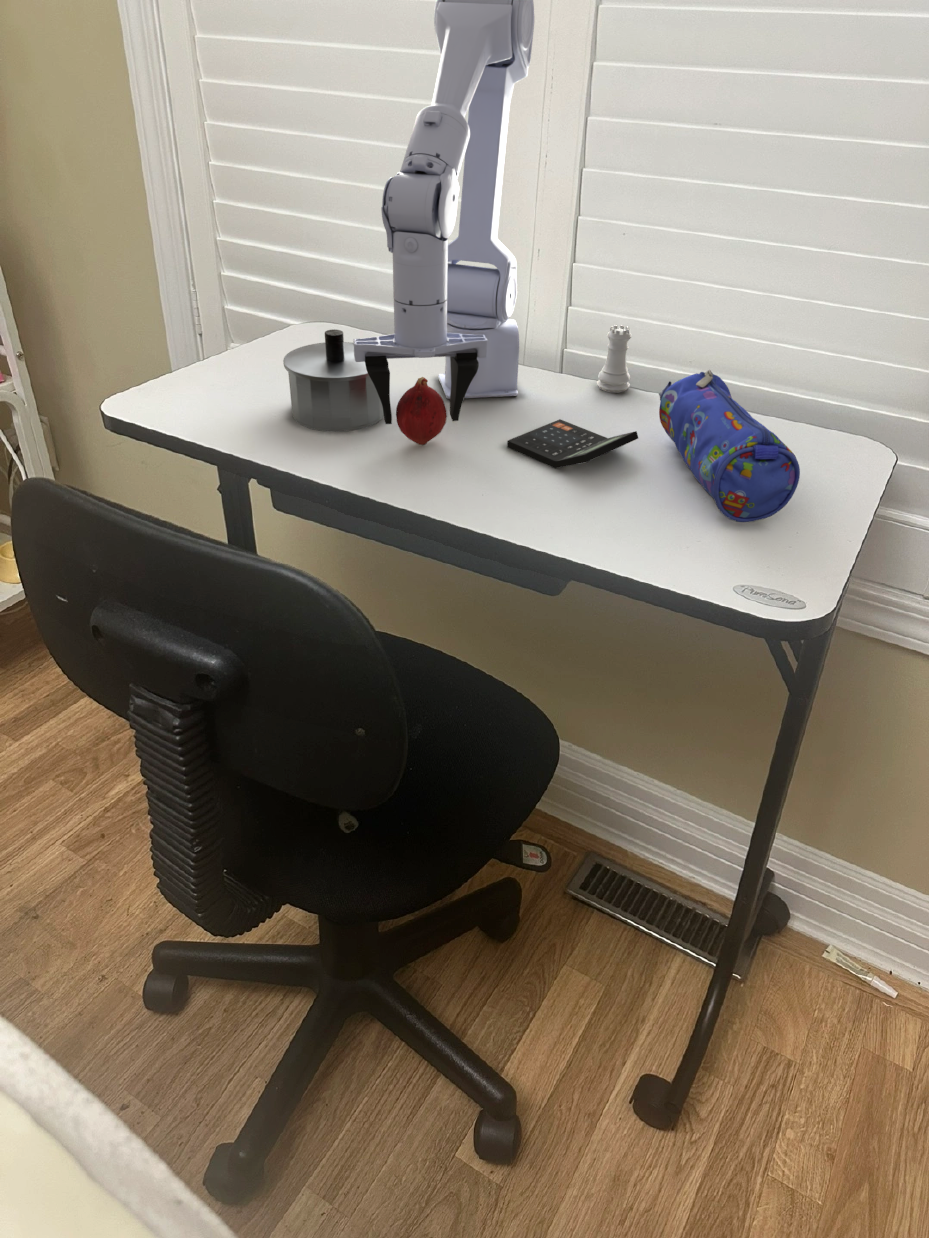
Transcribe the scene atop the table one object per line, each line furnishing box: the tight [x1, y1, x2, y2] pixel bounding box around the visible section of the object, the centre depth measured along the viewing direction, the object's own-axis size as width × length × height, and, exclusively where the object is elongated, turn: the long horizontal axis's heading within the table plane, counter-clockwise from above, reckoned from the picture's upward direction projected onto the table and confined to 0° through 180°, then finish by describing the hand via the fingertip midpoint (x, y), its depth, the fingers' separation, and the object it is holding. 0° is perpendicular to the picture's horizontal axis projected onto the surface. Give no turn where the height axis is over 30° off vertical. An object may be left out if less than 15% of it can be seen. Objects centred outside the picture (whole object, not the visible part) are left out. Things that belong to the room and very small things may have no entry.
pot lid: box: [282, 328, 369, 382], centre depth 108 cm, size 12×12×4 cm
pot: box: [287, 371, 384, 433], centre depth 110 cm, size 11×11×6 cm
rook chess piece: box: [596, 324, 633, 394], centre depth 119 cm, size 4×4×8 cm
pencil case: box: [658, 369, 801, 523], centre depth 97 cm, size 22×9×10 cm, turn 6°
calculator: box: [506, 418, 639, 469], centre depth 104 cm, size 9×12×3 cm
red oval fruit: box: [395, 376, 448, 446], centre depth 103 cm, size 6×6×8 cm
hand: (421, 419), depth 103 cm, fingers open, 7 cm apart
